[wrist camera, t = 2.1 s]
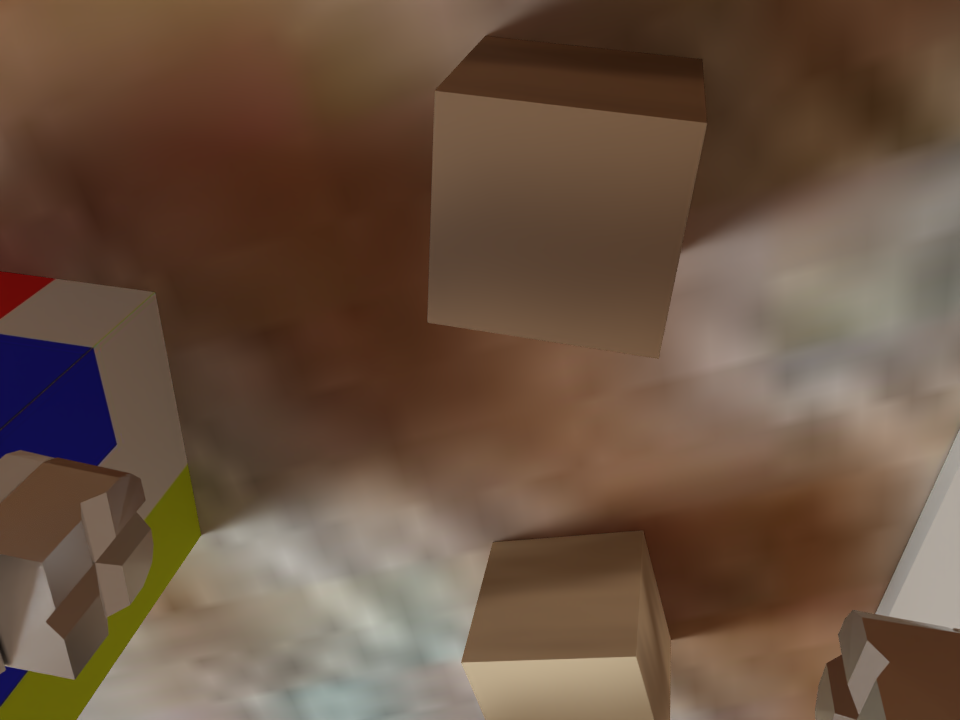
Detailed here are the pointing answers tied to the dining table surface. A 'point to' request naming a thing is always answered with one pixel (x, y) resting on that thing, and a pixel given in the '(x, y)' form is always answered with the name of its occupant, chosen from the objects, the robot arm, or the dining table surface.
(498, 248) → the walnut block
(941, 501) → the white coaster
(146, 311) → the puzzle toy
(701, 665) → the dining table surface
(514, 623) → the maple block
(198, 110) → the dining table surface
